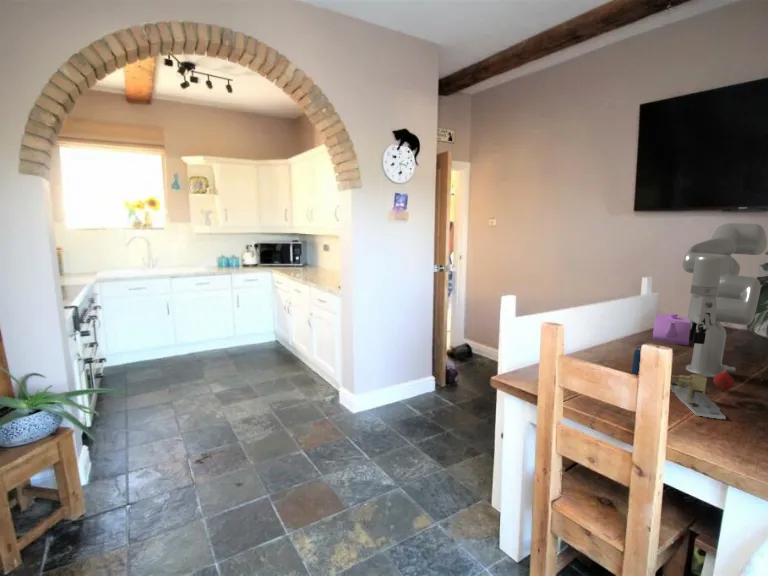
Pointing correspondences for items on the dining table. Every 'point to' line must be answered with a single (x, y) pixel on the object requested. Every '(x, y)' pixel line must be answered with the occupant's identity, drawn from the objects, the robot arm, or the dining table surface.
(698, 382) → the sliding jaw
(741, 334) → the dining table surface
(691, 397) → the board
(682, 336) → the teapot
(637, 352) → the soda can
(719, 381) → the onion
